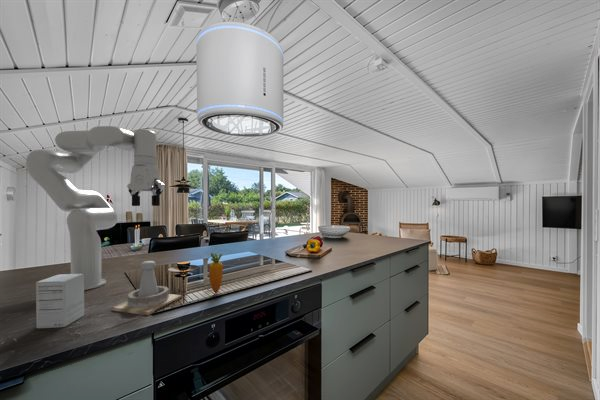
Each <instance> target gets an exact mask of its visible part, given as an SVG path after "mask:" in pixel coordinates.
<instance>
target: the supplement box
mask: <svg viewBox="0 0 600 400" xmlns="http://www.w3.org/2000/svg"><path fill="white" fill-rule="evenodd" d="M35 301H36V302H35V304H36V305H35V308H36V309H35V311H36V318H35V320H36V322H35V323H36V329H51V328H53V329H54V328H65V327H67V326H69V325H70V324H72V323H74V322H75V321H77V320H79V319H80V318H82V317H84V316H85V290H84V274H71V273H68V274H67V273H63V274H56V275H53V276H50V277H47V278H44V279H41V280H39V281H35Z"/></svg>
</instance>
